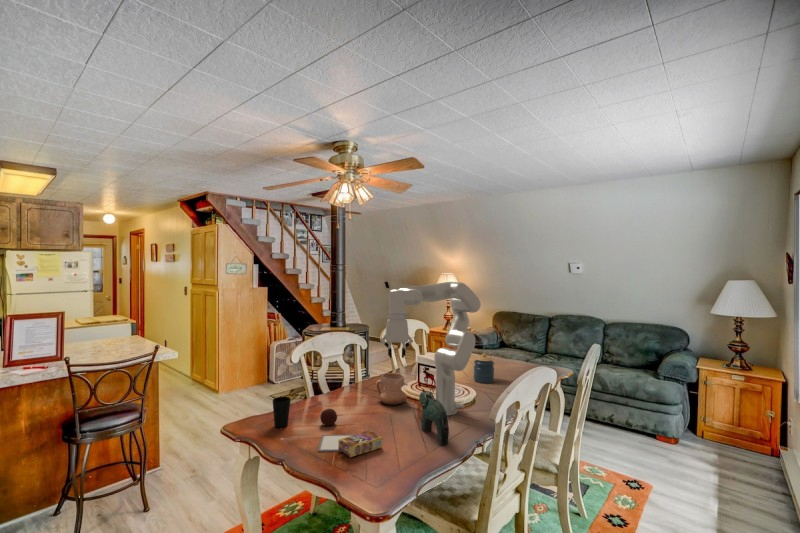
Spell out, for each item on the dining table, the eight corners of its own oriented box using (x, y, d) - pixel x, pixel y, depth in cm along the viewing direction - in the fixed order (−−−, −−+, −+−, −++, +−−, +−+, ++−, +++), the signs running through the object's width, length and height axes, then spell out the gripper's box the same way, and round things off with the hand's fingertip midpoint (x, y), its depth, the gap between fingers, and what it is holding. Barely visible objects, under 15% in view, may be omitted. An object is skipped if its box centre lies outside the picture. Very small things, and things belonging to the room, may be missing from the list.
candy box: (383, 436, 156) (350, 447, 146) (383, 447, 156) (350, 458, 146) (370, 429, 163) (338, 439, 153) (370, 439, 163) (338, 450, 153)
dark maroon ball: (317, 424, 178) (317, 409, 178) (330, 420, 183) (331, 405, 183) (326, 429, 173) (327, 413, 173) (340, 424, 178) (341, 409, 178)
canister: (473, 383, 246) (474, 354, 246) (473, 377, 259) (473, 350, 259) (494, 384, 244) (495, 356, 244) (493, 378, 257) (493, 351, 257)
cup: (293, 424, 177) (294, 398, 177) (282, 431, 170) (282, 403, 170) (280, 421, 180) (280, 395, 180) (268, 427, 174) (268, 400, 174)
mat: (374, 435, 167) (374, 434, 167) (374, 450, 154) (374, 449, 154) (322, 436, 166) (322, 435, 166) (317, 451, 152) (317, 450, 152)
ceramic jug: (412, 400, 213) (412, 373, 213) (402, 409, 199) (403, 381, 199) (381, 395, 219) (382, 370, 219) (370, 404, 206) (371, 376, 206)
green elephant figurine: (417, 428, 176) (418, 383, 176) (430, 426, 178) (431, 382, 178) (439, 447, 157) (439, 397, 157) (453, 444, 160) (453, 395, 160)
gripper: (415, 316, 181) (414, 355, 182) (378, 315, 180) (377, 355, 180) (417, 318, 174) (416, 359, 174) (378, 318, 173) (377, 359, 173)
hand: (396, 356), depth 177 cm, fingers open, 4 cm apart
